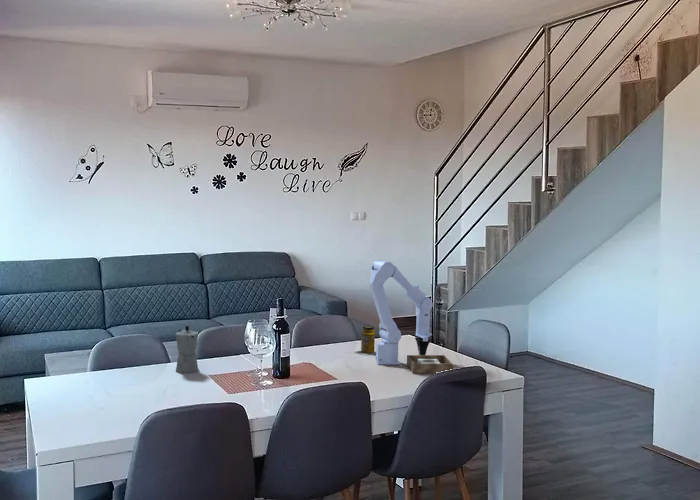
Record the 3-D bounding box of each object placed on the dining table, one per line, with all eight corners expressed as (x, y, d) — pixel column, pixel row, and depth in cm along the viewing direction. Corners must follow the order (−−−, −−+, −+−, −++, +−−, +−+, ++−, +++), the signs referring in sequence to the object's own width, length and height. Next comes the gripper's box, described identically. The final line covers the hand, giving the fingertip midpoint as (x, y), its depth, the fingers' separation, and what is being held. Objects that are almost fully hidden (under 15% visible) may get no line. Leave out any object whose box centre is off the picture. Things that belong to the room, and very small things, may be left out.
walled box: (413, 373, 283) (413, 364, 283) (406, 364, 299) (407, 355, 299) (452, 373, 285) (452, 364, 284) (443, 364, 300) (444, 355, 300)
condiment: (378, 352, 321) (378, 326, 320) (365, 355, 315) (365, 328, 314) (367, 350, 326) (367, 324, 326) (353, 352, 321) (354, 326, 320)
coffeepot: (204, 372, 279) (204, 327, 278) (181, 375, 274) (181, 329, 273) (190, 364, 292) (190, 321, 291) (168, 367, 287) (168, 323, 286)
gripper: (435, 326, 300) (434, 358, 301) (428, 320, 314) (427, 351, 315) (418, 326, 299) (418, 358, 300) (413, 320, 314) (412, 350, 315)
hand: (422, 354), depth 308 cm, fingers closed on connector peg, 3 cm apart
